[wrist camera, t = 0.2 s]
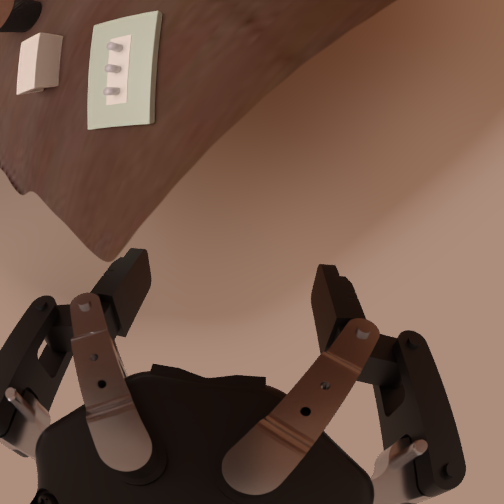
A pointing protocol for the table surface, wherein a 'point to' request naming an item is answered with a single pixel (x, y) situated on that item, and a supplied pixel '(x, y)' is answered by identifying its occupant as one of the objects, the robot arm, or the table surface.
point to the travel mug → (18, 15)
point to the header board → (124, 71)
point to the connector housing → (39, 63)
